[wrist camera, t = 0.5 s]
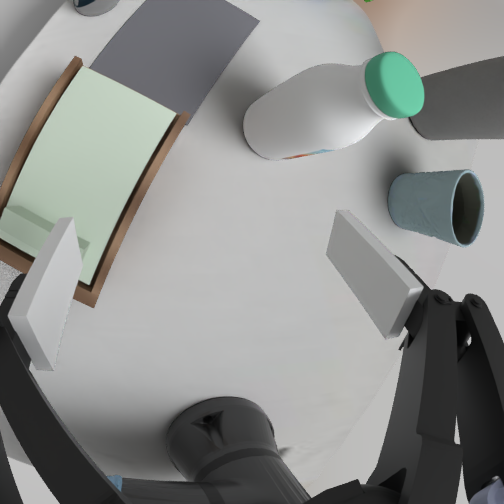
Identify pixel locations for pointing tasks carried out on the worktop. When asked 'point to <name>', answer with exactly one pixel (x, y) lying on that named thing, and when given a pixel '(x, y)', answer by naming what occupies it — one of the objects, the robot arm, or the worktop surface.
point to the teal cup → (439, 205)
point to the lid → (84, 166)
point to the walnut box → (92, 291)
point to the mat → (175, 50)
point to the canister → (463, 102)
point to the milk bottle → (332, 106)
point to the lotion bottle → (94, 6)
